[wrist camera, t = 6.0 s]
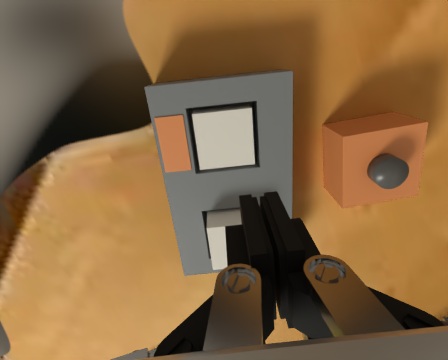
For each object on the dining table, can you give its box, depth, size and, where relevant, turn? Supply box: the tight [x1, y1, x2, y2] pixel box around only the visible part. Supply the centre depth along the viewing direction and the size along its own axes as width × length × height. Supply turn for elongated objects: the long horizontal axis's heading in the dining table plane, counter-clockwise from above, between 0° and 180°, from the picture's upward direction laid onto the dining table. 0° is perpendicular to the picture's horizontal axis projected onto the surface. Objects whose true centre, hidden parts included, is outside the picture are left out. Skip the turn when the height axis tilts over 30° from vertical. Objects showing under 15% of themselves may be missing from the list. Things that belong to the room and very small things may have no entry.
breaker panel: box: [145, 69, 293, 276], centre depth 27 cm, size 12×20×4 cm, turn 6°
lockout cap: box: [322, 112, 428, 208], centre depth 26 cm, size 7×7×6 cm
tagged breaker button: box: [192, 103, 255, 170], centre depth 25 cm, size 5×5×3 cm
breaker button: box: [207, 208, 242, 270], centre depth 27 cm, size 5×5×3 cm
